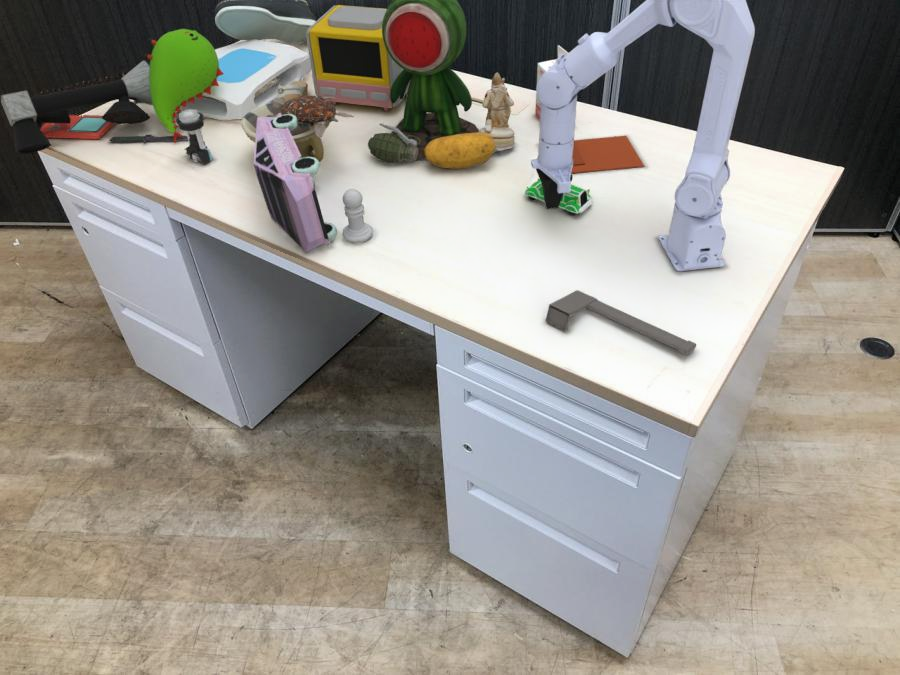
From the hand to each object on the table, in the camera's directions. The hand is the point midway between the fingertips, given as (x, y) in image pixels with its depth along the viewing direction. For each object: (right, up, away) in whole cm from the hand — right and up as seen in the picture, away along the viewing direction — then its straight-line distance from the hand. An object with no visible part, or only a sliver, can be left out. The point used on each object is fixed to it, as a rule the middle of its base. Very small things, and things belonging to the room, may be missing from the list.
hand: (551, 206), depth 136 cm
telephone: (-83, +30, +32) cm, 94 cm away
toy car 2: (+2, +1, +4) cm, 4 cm away
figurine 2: (-8, +15, +19) cm, 26 cm away
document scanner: (-66, +34, +42) cm, 85 cm away
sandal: (-54, +29, +36) cm, 71 cm away
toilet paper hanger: (+7, -24, -22) cm, 33 cm away
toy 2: (-38, +15, +11) cm, 42 cm away
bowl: (-49, +12, +18) cm, 54 cm away
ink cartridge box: (+4, +22, +27) cm, 35 cm away
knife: (-81, +18, +25) cm, 86 cm away
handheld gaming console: (-107, +23, +32) cm, 114 cm away
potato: (-16, +10, +15) cm, 24 cm away
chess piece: (-34, -5, -2) cm, 34 cm away
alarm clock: (-36, +31, +38) cm, 61 cm away
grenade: (-34, +16, +15) cm, 41 cm away
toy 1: (-81, +31, +23) cm, 90 cm away
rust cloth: (+10, +13, +16) cm, 22 cm away
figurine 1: (-22, +18, +23) cm, 36 cm away
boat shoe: (-61, +51, +50) cm, 94 cm away
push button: (-69, +13, +20) cm, 73 cm away
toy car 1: (-41, +5, -1) cm, 41 cm away
